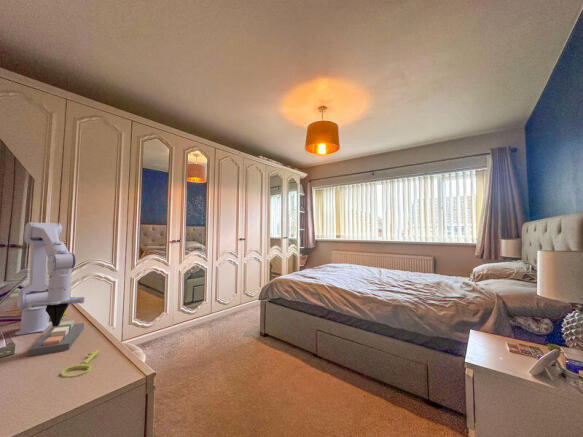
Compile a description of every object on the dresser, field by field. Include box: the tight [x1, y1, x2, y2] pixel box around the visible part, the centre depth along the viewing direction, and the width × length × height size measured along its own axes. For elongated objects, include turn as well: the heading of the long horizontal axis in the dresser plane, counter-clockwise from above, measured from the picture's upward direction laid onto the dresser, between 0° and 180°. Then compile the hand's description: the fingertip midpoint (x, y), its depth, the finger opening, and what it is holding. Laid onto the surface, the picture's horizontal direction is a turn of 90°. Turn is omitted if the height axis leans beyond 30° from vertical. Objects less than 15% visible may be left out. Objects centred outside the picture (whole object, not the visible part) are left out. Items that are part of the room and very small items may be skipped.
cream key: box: [51, 326, 69, 337], centre depth 88 cm, size 4×4×2 cm
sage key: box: [57, 320, 75, 330], centre depth 94 cm, size 4×4×2 cm
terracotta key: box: [43, 336, 63, 346], centre depth 83 cm, size 4×4×2 cm
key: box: [60, 349, 100, 378], centre depth 73 cm, size 7×12×2 cm, turn 29°
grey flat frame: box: [27, 322, 85, 357], centre depth 88 cm, size 20×10×2 cm, turn 30°
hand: (56, 325), depth 84 cm, fingers closed
